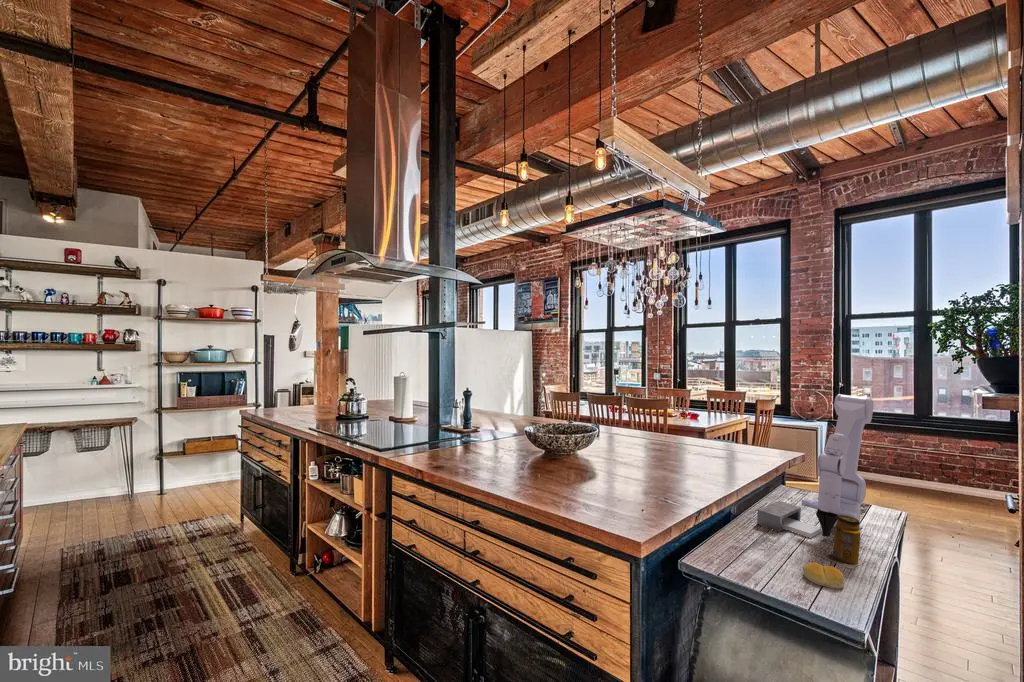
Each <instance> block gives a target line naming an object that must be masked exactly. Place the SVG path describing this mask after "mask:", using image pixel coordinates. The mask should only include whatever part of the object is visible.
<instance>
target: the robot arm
mask: <svg viewBox="0 0 1024 682" xmlns="http://www.w3.org/2000/svg"><path fill="white" fill-rule="evenodd" d="M833 406H834V410H835V414H836V416H838V417H837V420H836V426H835V430H834V433H832V434H830V435H829V436H828V439H827V442H826V445H825V446H824V447H825V448H824V450H823V452H822V453H820V454H819V455H818V458H817V461H816V462H817V475H818V477H819V480H818V481H819V483H818V491H817V492H818V493H817V494H818V495H817V500H816V501H815V500H811V499H807V498H803V499H801V506H802V507H808V508H810V509H814V510H816V512H815V515H816V517H817V519H818V521H819V525H820V528H821V532H822V536H823V537H826V538H828V537H831V533H832V531H833V528H835V525H836V524H837V517H838V516H839V515H845V516H850V517H853V518H856V519H857V520H859V522H860V523H861V508H862V507H861V505H860V504H862V503H863V502H865V498H866V493H867V492H866V491H867V489H866V486H867V485H866V484H867V483H866V479H864V478H863V477H862V476H861V475H860V474H859V473H858V466H859V461H860V459H859V458H860V451H861V446H862V439H863V432H864V428H865V425H867V424H870V423H871V422H872V419H873V414H874V400H873V399H872V397H864V396H857V395H856V396H855V395H848V394H841V393H838V394H837V395H835V398H834V405H833ZM859 526H860V528H859V530H860V529H862V528H864V527H863V526H864V525H862V524H859Z"/></svg>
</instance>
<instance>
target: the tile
mask: <svg viewBox="0 0 1024 682" xmlns="http://www.w3.org/2000/svg"><path fill="white" fill-rule="evenodd" d="M782 528H784V529H783V530H785V529H787V530H790V531H793V532H796V533H799V534H801V535H800V536H802V535H803V536H802V537H805V536H806V537H805V538H808V537H809V538H808V539H812V538H813V537H815V536H818V535H819V534H821V532H822V528H821V527H818V526H815V525H812V524H809V523H806V522H802V521H801V520H800V521H797V520H794V519H791V518H788V517H785V518H783V519H782V527H781V529H782ZM787 530H786V531H787ZM790 531H789V532H790ZM793 532H792V533H793ZM796 533H795V534H796ZM799 534H798V535H799Z"/></svg>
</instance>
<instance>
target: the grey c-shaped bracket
mask: <svg viewBox="0 0 1024 682" xmlns="http://www.w3.org/2000/svg"><path fill="white" fill-rule="evenodd" d="M801 511H802V507H801V506H799V505H794V504H792V503H791V504H790V503H788V502H784V501H781V500H777V501H776V502H773V503H770V504H767V505H766V506H763V507H761V508H758V509H757V518H756V525H757V524H759V525H758V526H760V525H762V526H765V527H767V528H766V529H768V528H770V529H769V530H771V529H773V530H772V531H774V530H776V531H775V532H777V531H778V532H777V533H781V532H782V528H781V527H782V519H783V518H785V517H788V518H791V519H794V520H797V521H800V522H801ZM762 526H761V527H762ZM765 527H764V528H765ZM780 531H781V532H780Z"/></svg>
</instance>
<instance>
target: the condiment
mask: <svg viewBox="0 0 1024 682" xmlns="http://www.w3.org/2000/svg"><path fill="white" fill-rule="evenodd" d="M860 523H861V521H860V522H859V520H857V519H856V518H853V517H850V516H845V515H839V516H838V517H837V524H836V525H835V527H834V532H833V533H834V534H833V546H832V552H831V553H828V554H826V555H823V556H822V558H824V559H826V560H827V561H830V562H831V563H835V564H836V565H837V564H838V565H839V566H843V567H845V568H848V569H851V570H852V569H854V568H855V567H856V568H857V567H858V566H860V565H862V564H864V563H865V561H863V560H861V559H859V558H860V557H859V556H860V544H861V534H862V533H861V530H860V529H859V528H860V526H859V524H860ZM860 525H861V524H860Z"/></svg>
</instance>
